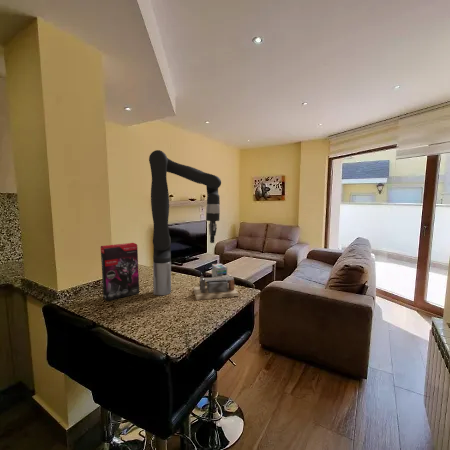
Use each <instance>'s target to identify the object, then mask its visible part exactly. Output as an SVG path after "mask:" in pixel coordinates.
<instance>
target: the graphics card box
mask: <svg viewBox="0 0 450 450" xmlns="http://www.w3.org/2000/svg"><path fill="white" fill-rule="evenodd" d="M138 249H139V248H138V244H137V243H136V242H128V243H118V244H117V243H116V244H108V245H101V246H100V258H101V260H100V261H101V275H102V277H101V278H102V279H101V280H102V295H103V297H102V298H103V299H104V301H107V302H108V301H113V300H117V299H121V298H125V297H129V296H133V295H137V294H140V280H139V279H140V277H139V276H140V275H139V258H138V257H139V256H138V254H139V253H138V251H139V250H138Z"/></svg>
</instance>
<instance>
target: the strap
mask: <svg viewBox="0 0 450 450" xmlns="http://www.w3.org/2000/svg"><path fill="white" fill-rule="evenodd" d="M201 279H205V282H207V281H223V280H227V281H229V280H234V279H235V278H234V276H230V275H229V274H227V275H222V277H214V278H212V277H204V278H200V277H199V282H200V281H201ZM234 281H235V280H234Z"/></svg>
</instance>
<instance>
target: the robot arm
mask: <svg viewBox="0 0 450 450" xmlns="http://www.w3.org/2000/svg"><path fill="white" fill-rule="evenodd" d="M167 156H168V155H166V153H165V152H164V151H162V150H159V149H155V150H154V151H151V153H150V154H149V156H148V162H149V166H150V172H151V184H150V207H151V216H152V222H153V233H152V246H153V253H152V254H153V255H152V258H153V259H152V260H153V261H152V262H153V263H152V264H153V268H152V269H153V271H152V272H153V275H152V277H153V278H152V281H153V282H152V287H153V290H152V291H153V295H154V296H155V295H156V296H167V295H169V294H171V293H172V249H171V248H172V245H171V244H172V243H171V239H172V238H171V236H170V230H169V217H170V195H169V194H170V193H169V185H168V180H167V175H168V174H167V173H169V174H173V175H175V176H178V177H181V178H183V179H186V180H188V181H191V182H193V183H196V184H201V185H204V186H206V212H205V220H206V221H209V223H208V232H209V243H210V244H214V243H215V236H217V235H216V234H217V228H218V227H217V223H216V222H219V221H220V216H221V215H220V212H221V210H220V209H221V208H220V201H221V200H220V195H219V188H220V187H221V185H222V180H221V178H220V177H219V176H217V175H215V174H212V173H209V172H204V171H202V170H200V169H198V168H196V167H192V166H189V165H185V164H181V163H179V162H175V161H173V160H171V159H170V158H168V157H167Z"/></svg>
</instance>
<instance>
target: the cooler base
mask: <svg viewBox="0 0 450 450" xmlns="http://www.w3.org/2000/svg"><path fill="white" fill-rule="evenodd" d="M200 278H205V277H204V275H202V276H199V279H200ZM193 292H194V295H195V296H194V297H195V299H196V300H197V301H199V300H211V299H213V298H214V299H223V298H222V297H227V298H235V297H234V296H238V297H239V292H238V291H237V289H236V288H235V280H227V281H226V280H223V281H205V279H201V281H200V280H199V286H193Z"/></svg>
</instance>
